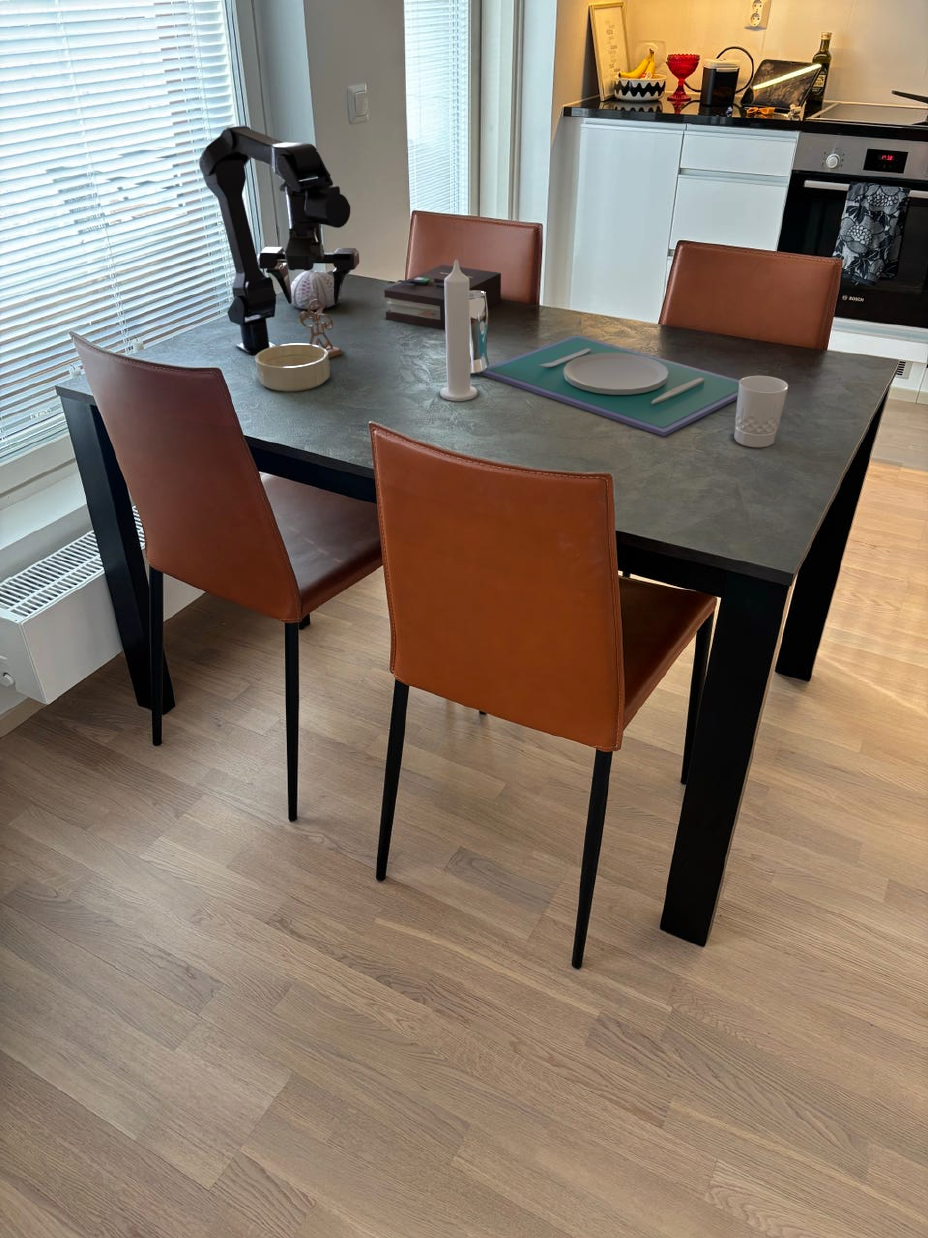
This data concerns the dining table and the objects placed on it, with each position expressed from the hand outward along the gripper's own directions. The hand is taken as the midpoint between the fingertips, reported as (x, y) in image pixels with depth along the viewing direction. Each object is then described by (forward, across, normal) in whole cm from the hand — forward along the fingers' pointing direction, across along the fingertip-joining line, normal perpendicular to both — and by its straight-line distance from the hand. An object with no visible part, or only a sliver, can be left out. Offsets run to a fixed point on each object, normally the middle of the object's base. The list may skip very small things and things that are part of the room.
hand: (313, 303), depth 185 cm
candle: (+14, +30, -11) cm, 35 cm away
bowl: (+14, -4, -5) cm, 15 cm away
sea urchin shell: (+14, -11, +46) cm, 49 cm away
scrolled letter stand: (+14, -2, +9) cm, 17 cm away
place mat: (+14, +60, -3) cm, 61 cm away
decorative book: (+14, +21, +43) cm, 50 cm away
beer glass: (+13, +32, +1) cm, 35 cm away
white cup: (+13, +83, -29) cm, 89 cm away
